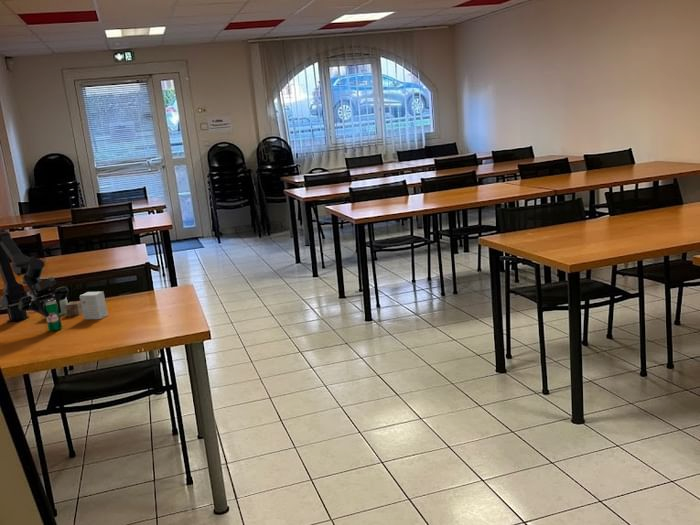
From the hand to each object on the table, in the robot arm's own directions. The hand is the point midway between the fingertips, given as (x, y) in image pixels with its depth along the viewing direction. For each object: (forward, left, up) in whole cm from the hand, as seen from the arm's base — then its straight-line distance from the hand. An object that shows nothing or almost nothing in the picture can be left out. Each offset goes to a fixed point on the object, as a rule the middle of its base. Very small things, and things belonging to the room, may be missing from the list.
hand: (54, 314), depth 259 cm
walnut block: (-7, +22, -7) cm, 24 cm away
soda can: (-1, +1, -7) cm, 7 cm away
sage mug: (-15, +23, -7) cm, 28 cm away
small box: (+7, +16, -7) cm, 19 cm away
